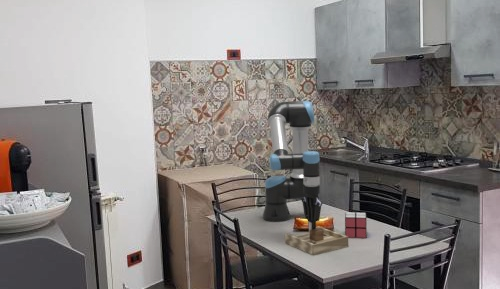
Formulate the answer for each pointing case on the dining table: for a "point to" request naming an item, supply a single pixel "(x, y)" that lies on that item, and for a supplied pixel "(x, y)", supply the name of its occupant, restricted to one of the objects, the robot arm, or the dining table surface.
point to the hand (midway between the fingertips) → (312, 235)
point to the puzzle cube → (355, 225)
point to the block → (316, 234)
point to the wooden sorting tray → (318, 242)
